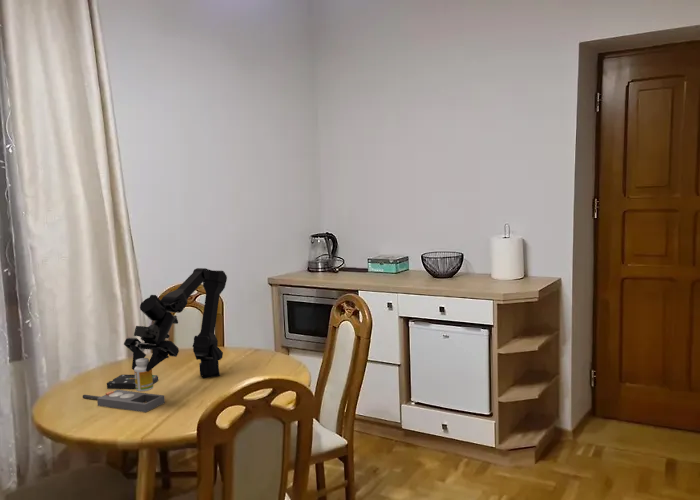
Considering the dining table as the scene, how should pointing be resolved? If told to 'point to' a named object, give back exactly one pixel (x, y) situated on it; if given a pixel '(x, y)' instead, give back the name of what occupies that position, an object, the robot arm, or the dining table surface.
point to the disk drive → (126, 382)
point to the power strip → (128, 400)
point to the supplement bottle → (143, 375)
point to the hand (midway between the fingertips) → (139, 370)
